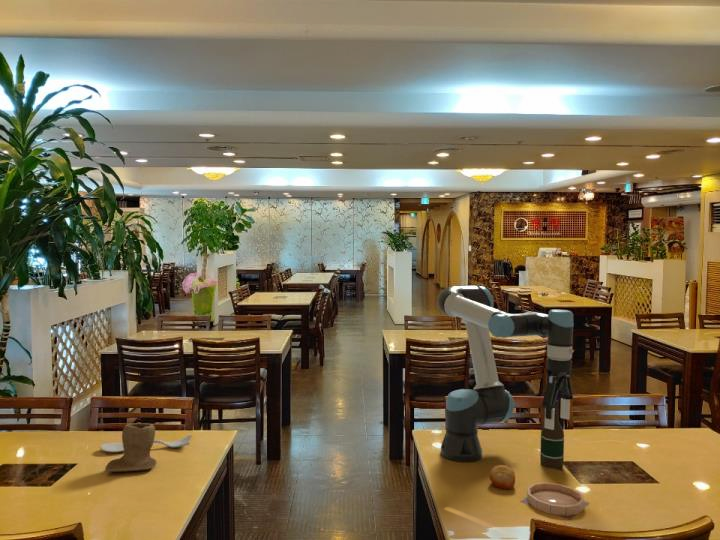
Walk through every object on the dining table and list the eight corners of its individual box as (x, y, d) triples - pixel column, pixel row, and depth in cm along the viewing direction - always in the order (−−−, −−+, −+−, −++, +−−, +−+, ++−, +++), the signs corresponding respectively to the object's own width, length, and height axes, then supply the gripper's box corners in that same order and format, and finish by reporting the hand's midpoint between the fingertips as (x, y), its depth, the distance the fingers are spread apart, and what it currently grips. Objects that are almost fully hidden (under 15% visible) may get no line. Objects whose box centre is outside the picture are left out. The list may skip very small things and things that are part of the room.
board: (520, 504, 155) (520, 501, 155) (540, 490, 165) (541, 487, 165) (570, 523, 144) (570, 519, 144) (589, 506, 155) (589, 503, 155)
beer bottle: (565, 472, 179) (567, 403, 178) (541, 470, 180) (543, 401, 180) (561, 463, 187) (562, 397, 186) (538, 461, 188) (540, 396, 188)
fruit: (516, 478, 170) (515, 462, 166) (514, 499, 164) (514, 483, 160) (490, 474, 173) (490, 458, 169) (488, 495, 167) (487, 479, 163)
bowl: (517, 502, 154) (518, 493, 154) (541, 486, 166) (541, 478, 166) (570, 521, 144) (570, 512, 144) (591, 502, 155) (591, 494, 155)
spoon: (189, 451, 195) (189, 441, 195) (97, 456, 188) (97, 447, 188) (192, 442, 204) (192, 433, 204) (103, 447, 197) (103, 438, 197)
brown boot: (159, 459, 186) (159, 418, 185) (153, 473, 174) (153, 429, 174) (113, 462, 182) (113, 420, 182) (104, 476, 171) (104, 431, 170)
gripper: (556, 366, 155) (554, 436, 156) (584, 354, 174) (582, 417, 175) (532, 362, 160) (530, 430, 161) (561, 351, 179) (559, 412, 180)
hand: (557, 423), depth 168 cm, fingers open, 13 cm apart
